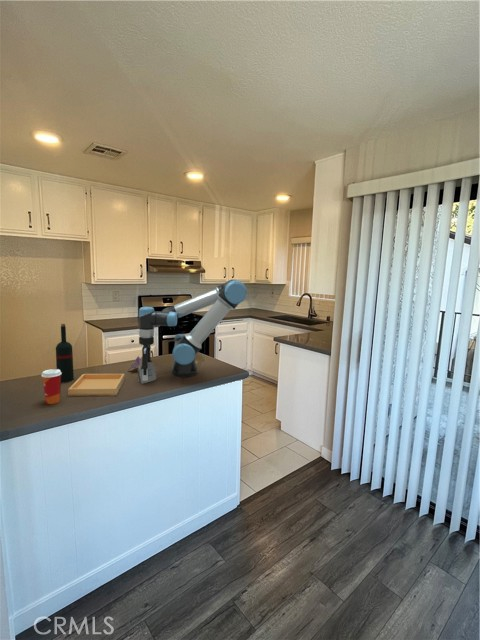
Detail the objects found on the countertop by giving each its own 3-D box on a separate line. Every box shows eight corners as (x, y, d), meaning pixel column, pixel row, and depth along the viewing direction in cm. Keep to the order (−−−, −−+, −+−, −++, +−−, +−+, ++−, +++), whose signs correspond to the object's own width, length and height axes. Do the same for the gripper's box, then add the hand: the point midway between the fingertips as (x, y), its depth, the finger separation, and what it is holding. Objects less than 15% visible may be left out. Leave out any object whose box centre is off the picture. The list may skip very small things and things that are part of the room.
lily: (145, 368, 195) (138, 354, 194) (154, 365, 187) (146, 351, 186) (129, 378, 187) (121, 364, 186) (137, 376, 179) (129, 361, 177)
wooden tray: (124, 379, 172) (124, 373, 171) (115, 395, 151) (115, 388, 150) (83, 380, 168) (83, 373, 168) (68, 396, 148) (68, 389, 147)
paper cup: (48, 397, 145) (46, 368, 143) (66, 398, 146) (64, 368, 144) (39, 405, 138) (37, 374, 135) (57, 405, 138) (56, 374, 136)
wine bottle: (70, 375, 174) (68, 321, 169) (75, 380, 167) (73, 324, 162) (54, 377, 169) (51, 322, 164) (58, 383, 162) (55, 325, 157)
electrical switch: (142, 384, 166) (141, 367, 165) (136, 382, 170) (135, 365, 169) (157, 380, 174) (156, 363, 173) (151, 378, 177) (150, 362, 176)
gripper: (142, 331, 178) (142, 370, 182) (135, 341, 157) (135, 384, 160) (155, 332, 179) (155, 370, 183) (151, 341, 158) (151, 384, 162)
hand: (146, 377), depth 172 cm, fingers closed on electrical switch, 9 cm apart
